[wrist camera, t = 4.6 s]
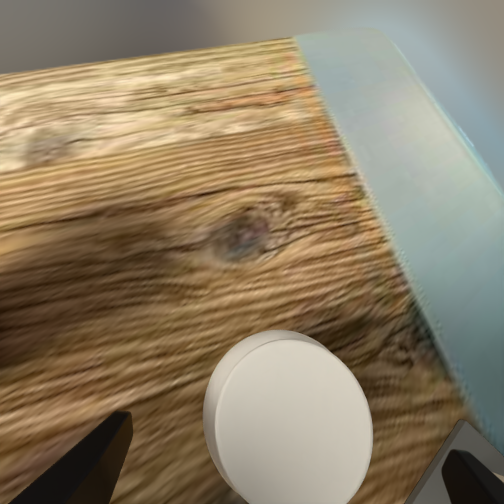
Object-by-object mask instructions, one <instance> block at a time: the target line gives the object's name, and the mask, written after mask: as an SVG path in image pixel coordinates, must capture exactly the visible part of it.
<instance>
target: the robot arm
mask: <svg viewBox="0 0 504 504" xmlns="http://www.w3.org/2000/svg"><path fill="white" fill-rule="evenodd" d="M132 437H133V425H132V415H131V413H130V412H129V411H121V410H117V411H115V412H113V413H112V414H111V415H110V416H109V417H108V418H106V419H105V420H104V421H103V422H102V423H101V424H99V425H98V426H97V427H96V428H95V429H94V430H93V431H91V432H90V433H89V434H88V435H87V436H86V437H84V438H83V439H82V440H81V441H80V442H79V443H78V444H76V445H75V446H74V447H73V448H72V449H71V450H69V451H68V452H67V453H66V454H65V455H64V456H63V457H61V458H60V459H59V460H58V461H57V462H56V463H55V464H53V465H52V466H51V467H50V468H49V469H48V470H46V471H45V472H44V473H43V474H42V475H41V476H40V477H38V478H37V479H36V480H35V481H34V482H33V483H31V484H30V485H29V486H28V487H27V488H26V489H25V490H23V491H22V492H21V493H20V494H19V495H18V496H16V497H15V498H14V499H13V500H12V501H11V502H10V503H8V504H109V502H110V499H111V497H112V494H113V491H114V488H115V485H116V483H117V480H118V477H119V474H120V471H121V469H122V466H123V463H124V460H125V457H126V455H127V452H128V449H129V446H130V443H131V440H132ZM441 473H442V478H443V481H444V484H445V487H446V490H447V493H448V496H449V499H450V502H451V504H504V482H503V481H501V480H500V479H499V478H498V477H497V476H496V475H495V474H494V473H493V472H491V471H490V470H489V469H488V468H487V467H486V466H485V465H484V464H483V463H481V462H480V461H479V460H478V459H477V458H476V457H475V456H474V455H473V454H471V453H470V452H468V451H466V450H459V449H452V450H450V451H449V453H448V455H447V457H446V459H445V461H444V463H443V465H442V469H441Z"/></svg>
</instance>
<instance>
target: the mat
mask: <svg viewBox="0 0 504 504" xmlns="http://www.w3.org/2000/svg"><path fill="white" fill-rule="evenodd" d="M452 449H459V450H466V451H468V452H470V453H471V454H473V455H474V456H475V457H476V458H477V459H478V460H479V461H480V462H481V463H483V464H484V465H485V466H486V467H487V468H488V469H489V470H490V471H491V472H494V473H496V474H499V475H501V476H504V456H503V455H502V454H501V453H500V452H499V451H498V450H497V449H496V448H494V447H493V446H492V445H491V444H490V443H489V442H488V441H487V440H486V439H485V438H484V437H483V436H482V435H481V434H480V433H478V432H477V431H476V430H475V429H474V428H473V427H472V426H471V425H470V424H469V423H468V422H467V421H464V420H459V421H458V423H457V424H456V426H455V427H454V429H453V430H452V432H451V433H450V435H449V436H448V438H447V439H446V441H445V442H444V444H443V446H442V447H441V449H440V450H439V452H438V453H437V455H436V456H435V458H434V459H433V461H432V462H431V464H430V465H429V467H428V468H427V470H426V471H425V473H424V474H423V476H422V478H421V479H420V481H419V482H418V484H417V485H416V487H415V488H414V490H413V491H412V493H411V494H410V496H409V497H408V499H407V500H406V502H405V503H404V504H451V502H450V499H449V496H448V493H447V490H446V487H445V484H444V481H443V478H442V473H441V469H442V465H443V463H444V461H445V459H446V457H447V455H448V453H449V451H450V450H452Z"/></svg>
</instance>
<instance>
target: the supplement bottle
mask: <svg viewBox="0 0 504 504" xmlns="http://www.w3.org/2000/svg"><path fill="white" fill-rule="evenodd" d="M203 429H204V435H205V440H206V444H207V447H208V451H209V453H210V456H211V458H212V460H213V463H214V465H215V467H216V468H217V470H218V472H219V473H220V475H221V476H222V477H223V479H224V480H225V481H226V482H227V484H228V485H229V486H230V487H231V488H232V489H233V490H234V491H235V492H237V493H238V494H239V495H241V497H242V498H243V499H244V500H245V501H247V502H248V503H249V504H347V503H348V502H349V501H350V499H351V498H352V497H353V496H354V495H355V493H356V492H357V491H358V489H359V487H360V486H361V484H362V482H363V480H364V478H365V476H366V473H367V470H368V467H369V464H370V459H371V454H372V447H373V425H372V419H371V413H370V409H369V405H368V402H367V399H366V397H365V395H364V393H363V390H362V388H361V386H360V385H359V383H358V381H357V379H356V378H355V376H354V375H353V373H352V372H351V371H350V370H349V368H348V367H347V366H346V365H345V364H344V363H343V362H342V361H341V360H340V359H339V358H338V357H337V356H335V355H334V354H332V353H331V352H330V351H329V350H328V349H327V348H326V347H324V346H323V345H322V344H320V343H319V342H318V341H316V340H314V339H312V338H310V337H308V336H306V335H304V334H301V333H298V332H294V331H288V330H269V331H264V332H260V333H257V334H254V335H251V336H249V337H247V338H245V339H243V340H242V341H240V342H239V343H237V344H236V345H235V346H234V347H232V348H231V349H230V350H229V351H228V352H227V353H226V354H225V355H224V357H223V358H222V359H221V360H220V362H219V363H218V365H217V366H216V368H215V370H214V372H213V374H212V376H211V378H210V381H209V383H208V386H207V390H206V394H205V399H204V405H203Z"/></svg>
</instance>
